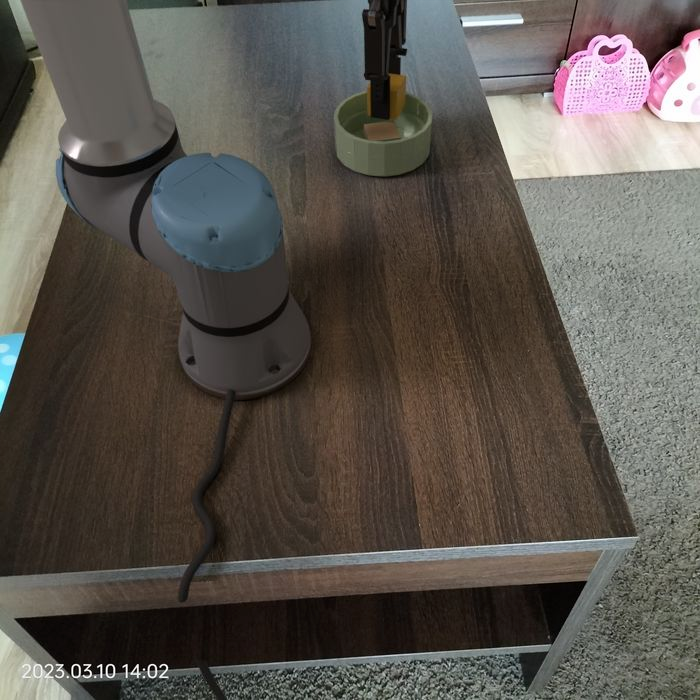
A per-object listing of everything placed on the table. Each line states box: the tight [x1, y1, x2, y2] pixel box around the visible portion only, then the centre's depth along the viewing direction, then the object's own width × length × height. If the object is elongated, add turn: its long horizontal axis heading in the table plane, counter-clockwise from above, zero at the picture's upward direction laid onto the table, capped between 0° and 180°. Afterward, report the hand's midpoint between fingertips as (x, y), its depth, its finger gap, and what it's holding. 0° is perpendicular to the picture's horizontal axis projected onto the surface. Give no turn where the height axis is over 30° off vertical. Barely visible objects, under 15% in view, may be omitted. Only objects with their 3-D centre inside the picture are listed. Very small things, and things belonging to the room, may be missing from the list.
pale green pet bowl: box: [333, 90, 434, 177], centre depth 108 cm, size 14×14×6 cm
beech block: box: [364, 121, 401, 141], centre depth 106 cm, size 4×4×4 cm
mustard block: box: [366, 73, 407, 120], centre depth 106 cm, size 4×4×4 cm
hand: (385, 107), depth 107 cm, fingers closed on mustard block, 4 cm apart
